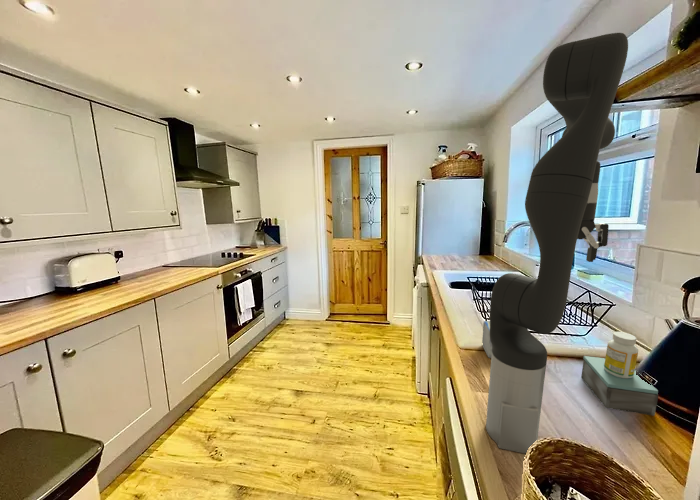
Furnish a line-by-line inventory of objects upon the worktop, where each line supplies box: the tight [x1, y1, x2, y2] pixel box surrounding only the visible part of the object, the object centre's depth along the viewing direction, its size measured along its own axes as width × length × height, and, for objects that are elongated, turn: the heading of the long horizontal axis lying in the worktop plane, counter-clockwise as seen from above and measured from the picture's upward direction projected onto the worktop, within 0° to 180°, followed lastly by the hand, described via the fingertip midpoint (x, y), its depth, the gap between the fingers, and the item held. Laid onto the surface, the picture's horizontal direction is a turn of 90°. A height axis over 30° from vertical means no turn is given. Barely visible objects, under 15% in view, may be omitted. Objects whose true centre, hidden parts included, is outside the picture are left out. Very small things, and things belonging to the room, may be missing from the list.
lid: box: [582, 355, 659, 395], centre depth 71 cm, size 12×9×1 cm
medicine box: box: [481, 320, 492, 359], centre depth 91 cm, size 8×4×9 cm, turn 169°
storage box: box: [580, 359, 659, 417], centre depth 71 cm, size 12×9×5 cm
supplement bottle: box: [604, 331, 639, 379], centre depth 70 cm, size 5×5×10 cm
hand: (571, 260), depth 81 cm, fingers open, 8 cm apart
